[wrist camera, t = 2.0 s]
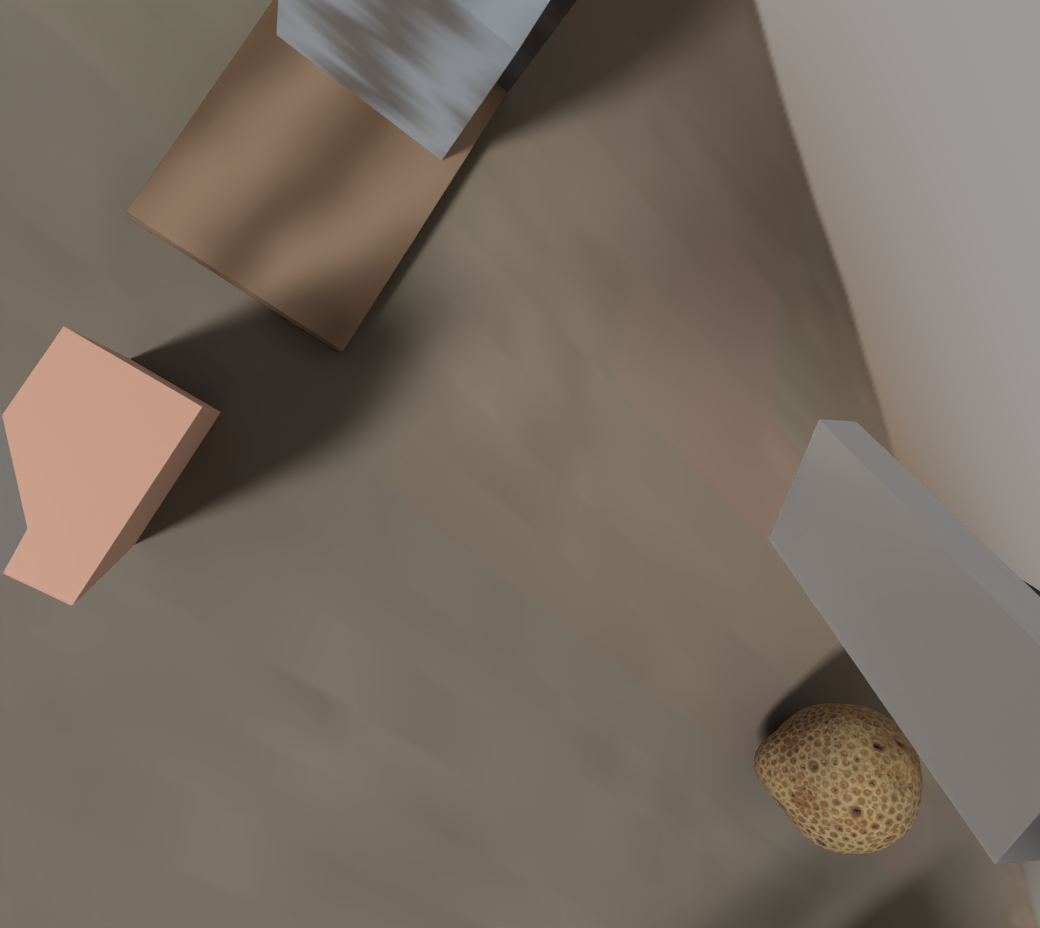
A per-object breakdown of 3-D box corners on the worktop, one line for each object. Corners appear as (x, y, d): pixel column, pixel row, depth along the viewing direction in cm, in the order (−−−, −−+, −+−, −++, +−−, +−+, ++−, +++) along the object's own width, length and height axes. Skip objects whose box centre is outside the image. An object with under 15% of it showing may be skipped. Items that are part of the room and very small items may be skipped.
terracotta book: (38, 495, 38) (-80, 534, 25) (129, 358, 39) (63, 326, 26) (134, 544, 40) (72, 605, 26) (220, 411, 41) (202, 406, 27)
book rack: (131, 219, 39) (44, 82, 23) (323, -59, 41) (363, -354, 25) (340, 353, 42) (387, 312, 27) (506, 91, 45) (640, -88, 29)
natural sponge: (859, 760, 55) (982, 829, 46) (764, 834, 53) (873, 923, 44) (813, 653, 54) (931, 703, 44) (712, 726, 51) (815, 795, 42)
